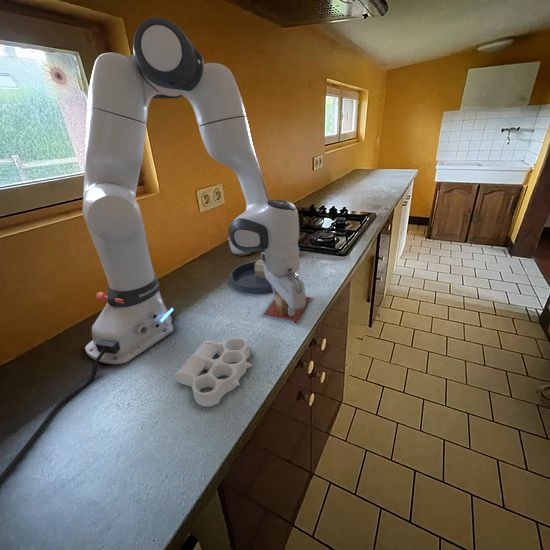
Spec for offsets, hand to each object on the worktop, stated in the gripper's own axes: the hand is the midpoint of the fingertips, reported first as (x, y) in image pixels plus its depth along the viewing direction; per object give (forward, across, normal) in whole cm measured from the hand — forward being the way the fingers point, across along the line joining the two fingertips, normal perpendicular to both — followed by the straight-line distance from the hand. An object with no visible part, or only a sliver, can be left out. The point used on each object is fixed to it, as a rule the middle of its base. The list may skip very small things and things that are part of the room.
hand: (283, 305), depth 87 cm
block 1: (+2, +24, -2) cm, 24 cm away
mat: (+2, +2, -2) cm, 4 cm away
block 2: (+2, 0, 0) cm, 2 cm away
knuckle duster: (+3, -15, +23) cm, 27 cm away
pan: (+2, +22, 0) cm, 22 cm away
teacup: (+2, +48, -3) cm, 49 cm away
